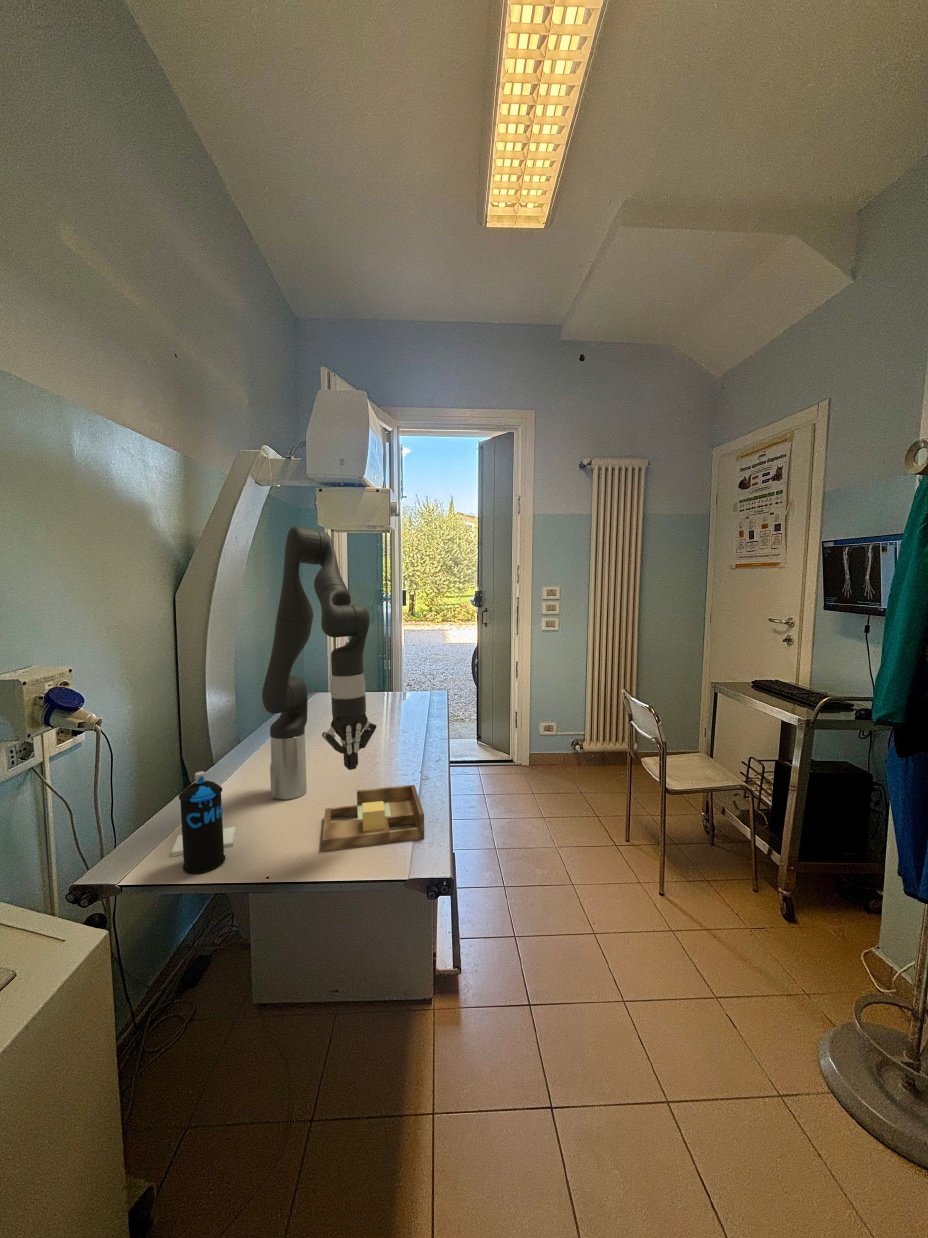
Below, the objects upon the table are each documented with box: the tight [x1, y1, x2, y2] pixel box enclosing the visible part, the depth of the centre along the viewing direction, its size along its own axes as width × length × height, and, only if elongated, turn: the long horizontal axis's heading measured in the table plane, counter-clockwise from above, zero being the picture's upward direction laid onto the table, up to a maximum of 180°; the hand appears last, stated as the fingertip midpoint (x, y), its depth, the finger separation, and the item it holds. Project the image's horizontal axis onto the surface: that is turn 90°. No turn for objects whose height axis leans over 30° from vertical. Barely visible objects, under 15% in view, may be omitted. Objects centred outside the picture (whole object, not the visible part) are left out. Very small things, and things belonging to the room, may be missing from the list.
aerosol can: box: [178, 770, 227, 875], centre depth 107 cm, size 8×8×20 cm
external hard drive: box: [170, 826, 237, 858], centre depth 117 cm, size 2×8×12 cm
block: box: [362, 801, 385, 831], centre depth 119 cm, size 5×5×4 cm
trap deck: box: [321, 784, 425, 852], centre depth 123 cm, size 23×17×6 cm
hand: (351, 768), depth 115 cm, fingers closed
